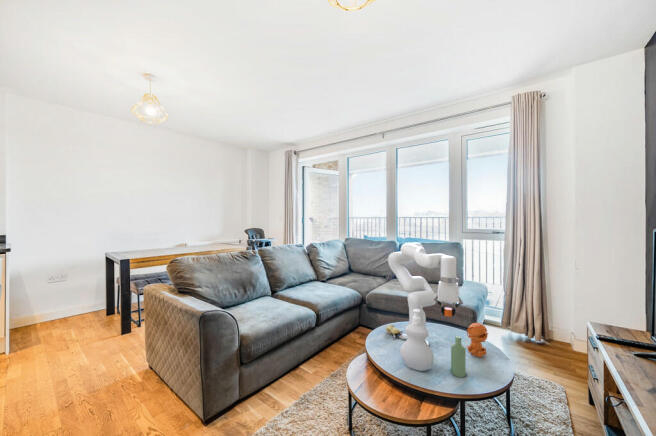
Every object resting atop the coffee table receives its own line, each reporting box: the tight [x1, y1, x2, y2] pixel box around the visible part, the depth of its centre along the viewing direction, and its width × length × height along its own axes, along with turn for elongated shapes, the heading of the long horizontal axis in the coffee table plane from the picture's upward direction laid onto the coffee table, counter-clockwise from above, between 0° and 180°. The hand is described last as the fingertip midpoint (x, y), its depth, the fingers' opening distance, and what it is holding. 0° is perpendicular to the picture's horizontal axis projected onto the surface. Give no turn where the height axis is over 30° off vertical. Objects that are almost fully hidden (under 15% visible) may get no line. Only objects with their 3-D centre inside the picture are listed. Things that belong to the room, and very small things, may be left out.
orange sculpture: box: [466, 321, 489, 358], centre depth 150 cm, size 11×11×18 cm
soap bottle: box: [399, 309, 435, 372], centre depth 138 cm, size 17×12×29 cm
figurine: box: [384, 324, 407, 341], centre depth 173 cm, size 10×6×15 cm
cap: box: [443, 306, 453, 318], centre depth 140 cm, size 4×4×4 cm
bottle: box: [450, 335, 467, 378], centre depth 132 cm, size 6×6×18 cm
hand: (448, 314), depth 140 cm, fingers closed on cap, 4 cm apart
